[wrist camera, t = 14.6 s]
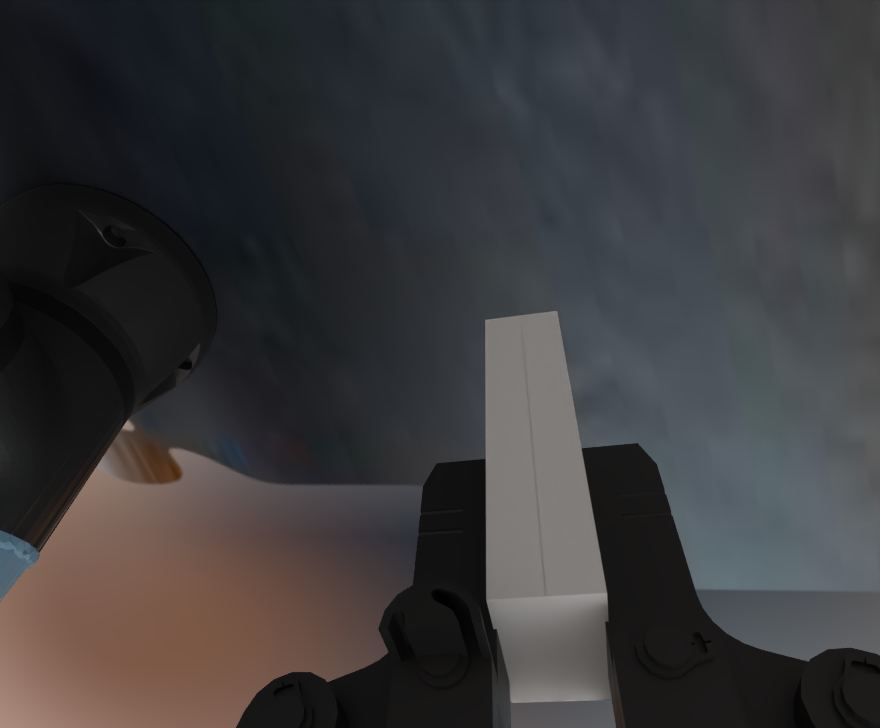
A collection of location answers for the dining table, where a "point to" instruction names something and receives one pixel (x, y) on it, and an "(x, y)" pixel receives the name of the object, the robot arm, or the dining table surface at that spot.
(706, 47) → the dining table surface
